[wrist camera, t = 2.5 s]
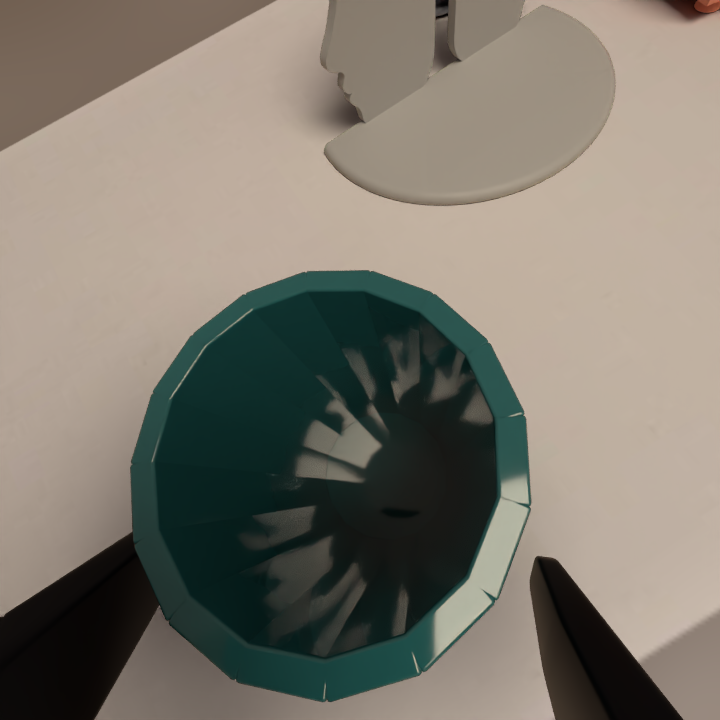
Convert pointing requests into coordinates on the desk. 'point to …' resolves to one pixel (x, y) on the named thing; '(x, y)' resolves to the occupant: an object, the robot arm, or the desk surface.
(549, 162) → the ornament
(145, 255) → the desk surface
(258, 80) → the desk surface
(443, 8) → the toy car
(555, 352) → the desk surface
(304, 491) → the tumbler
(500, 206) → the desk surface
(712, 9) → the pink cube teapot
